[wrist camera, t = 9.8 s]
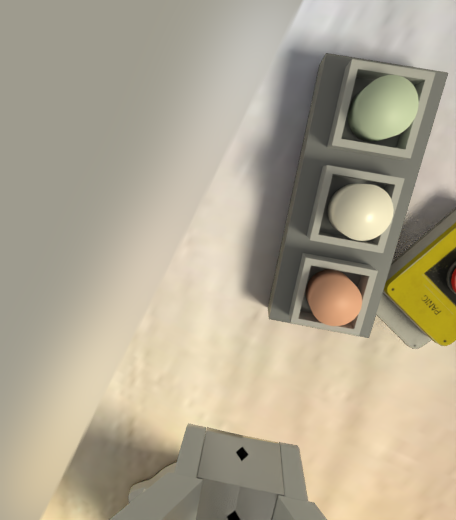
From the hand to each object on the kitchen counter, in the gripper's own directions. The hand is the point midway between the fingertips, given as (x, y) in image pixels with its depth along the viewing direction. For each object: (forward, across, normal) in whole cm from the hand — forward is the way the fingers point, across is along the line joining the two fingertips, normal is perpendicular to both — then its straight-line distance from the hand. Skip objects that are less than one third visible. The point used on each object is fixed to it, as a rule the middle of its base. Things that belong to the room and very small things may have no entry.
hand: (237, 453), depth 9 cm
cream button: (+23, +8, +6) cm, 25 cm away
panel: (+27, +8, +6) cm, 29 cm away
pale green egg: (+24, +8, +14) cm, 29 cm away
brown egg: (+24, +8, -2) cm, 25 cm away
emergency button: (+28, +20, +1) cm, 34 cm away
